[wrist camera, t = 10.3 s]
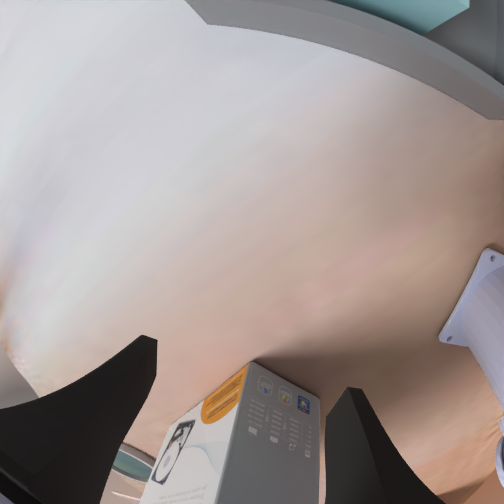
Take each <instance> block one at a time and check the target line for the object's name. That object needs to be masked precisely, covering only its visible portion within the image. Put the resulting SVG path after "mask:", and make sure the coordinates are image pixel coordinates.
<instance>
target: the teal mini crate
mask: <svg viewBox="0 0 504 504" xmlns="http://www.w3.org/2000/svg"><path fill="white" fill-rule="evenodd" d="M332 2H334V3H337V4H341V5H344V6H347V7H350V8H354V9H357V10H360V11H363V12H365V13H368V14H371V15H374V16H377V17H379V18H382V19H384V20H387V21H389V22H392V23H394V24H397V25H399V26H401V27H404V28H406V29H408V30H410V31H412V32H415V33H417V34H419V35H421V36H423V35H424V34H426V33H427V32H429V31H431V30H432V29H434V28H435V27H437V26H439V25H440V24H442V23H444V22H445V21H447V20H449V19H450V18H452V17H454V16H455V15H457V14H459V13H461V12H462V11H464V10H466V9H468V8H469V0H332Z"/></svg>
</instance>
